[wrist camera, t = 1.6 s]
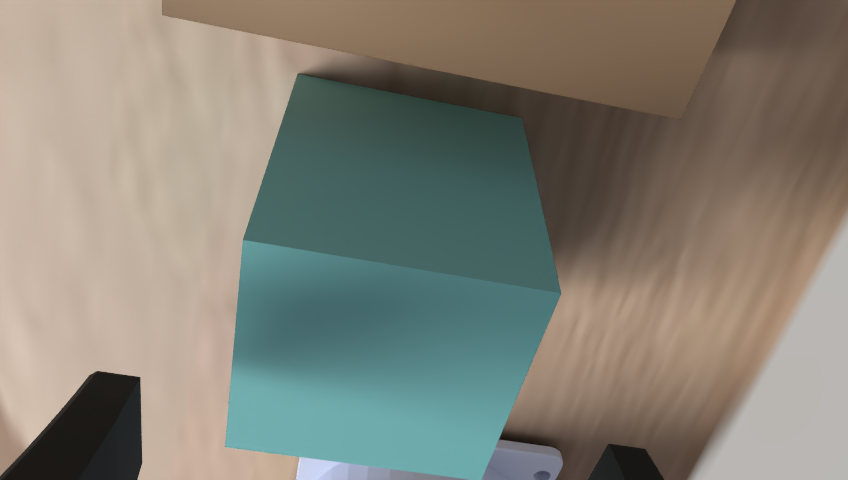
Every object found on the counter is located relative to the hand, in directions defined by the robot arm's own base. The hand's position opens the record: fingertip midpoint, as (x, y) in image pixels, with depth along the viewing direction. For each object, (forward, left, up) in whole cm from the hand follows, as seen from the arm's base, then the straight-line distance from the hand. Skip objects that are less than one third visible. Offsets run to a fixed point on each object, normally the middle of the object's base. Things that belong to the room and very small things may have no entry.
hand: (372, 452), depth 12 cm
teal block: (0, 0, -8) cm, 8 cm away
